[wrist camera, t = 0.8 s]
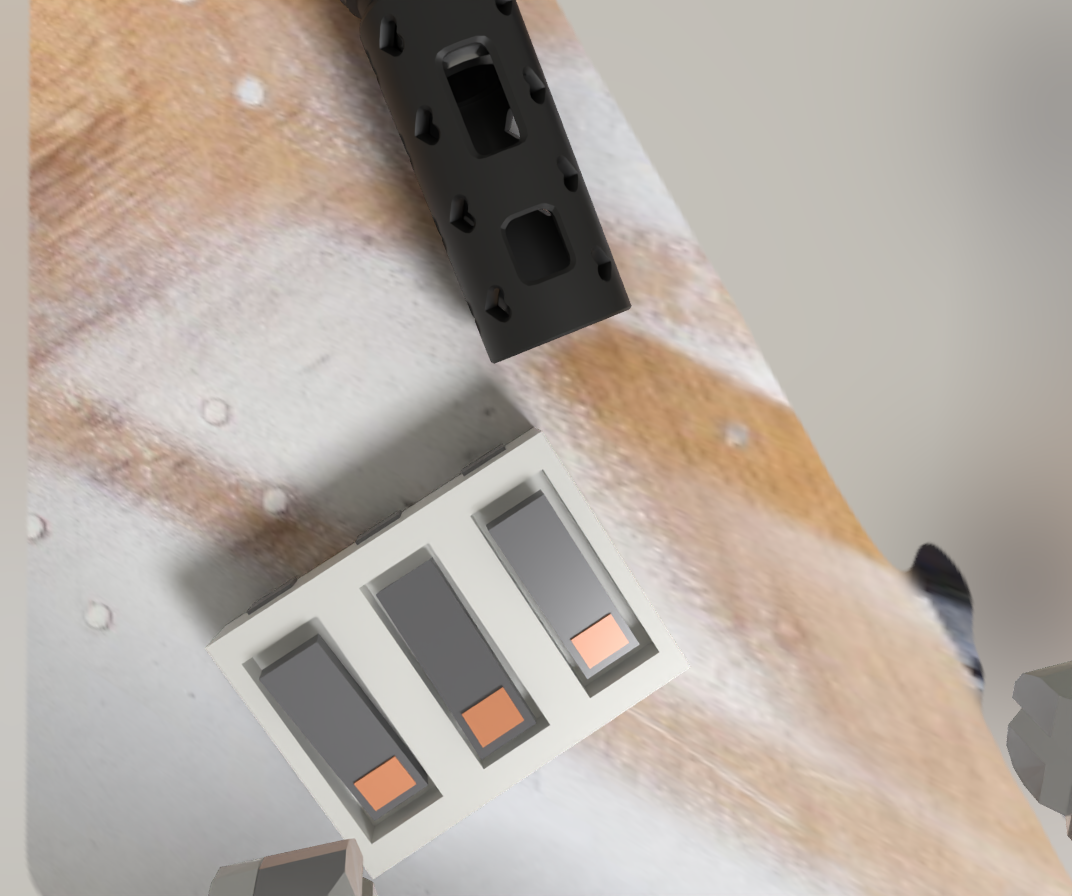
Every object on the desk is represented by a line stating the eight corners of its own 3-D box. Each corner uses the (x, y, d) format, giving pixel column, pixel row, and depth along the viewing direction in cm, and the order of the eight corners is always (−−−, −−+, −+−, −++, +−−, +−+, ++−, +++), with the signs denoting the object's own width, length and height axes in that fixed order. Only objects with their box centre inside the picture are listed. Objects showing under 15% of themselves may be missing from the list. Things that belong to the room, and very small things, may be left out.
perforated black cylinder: (483, 368, 52) (492, 364, 42) (312, -53, 49) (277, -168, 39) (615, 315, 53) (655, 298, 43) (455, -104, 50) (457, -229, 40)
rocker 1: (427, 773, 51) (428, 786, 50) (374, 808, 51) (374, 822, 50) (318, 633, 48) (316, 642, 47) (261, 670, 48) (258, 680, 46)
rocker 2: (634, 636, 52) (640, 645, 51) (582, 670, 52) (588, 680, 50) (540, 489, 49) (544, 494, 47) (485, 524, 49) (488, 531, 47)
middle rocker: (535, 717, 50) (536, 723, 49) (482, 753, 50) (481, 760, 48) (432, 556, 50) (430, 559, 49) (378, 591, 50) (375, 594, 48)
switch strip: (671, 644, 55) (691, 666, 51) (379, 838, 54) (373, 879, 50) (531, 424, 53) (539, 427, 48) (223, 622, 52) (202, 645, 47)
